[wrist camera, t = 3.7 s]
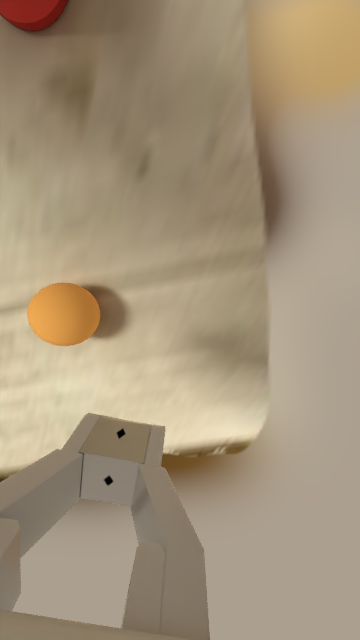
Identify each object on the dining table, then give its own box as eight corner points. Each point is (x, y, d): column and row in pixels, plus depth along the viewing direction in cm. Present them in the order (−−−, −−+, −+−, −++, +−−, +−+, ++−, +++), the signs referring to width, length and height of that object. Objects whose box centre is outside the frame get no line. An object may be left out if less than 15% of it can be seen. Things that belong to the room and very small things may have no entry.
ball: (54, 328, 23) (10, 349, 17) (55, 275, 21) (7, 279, 15) (106, 338, 23) (80, 362, 17) (111, 286, 21) (84, 293, 16)
